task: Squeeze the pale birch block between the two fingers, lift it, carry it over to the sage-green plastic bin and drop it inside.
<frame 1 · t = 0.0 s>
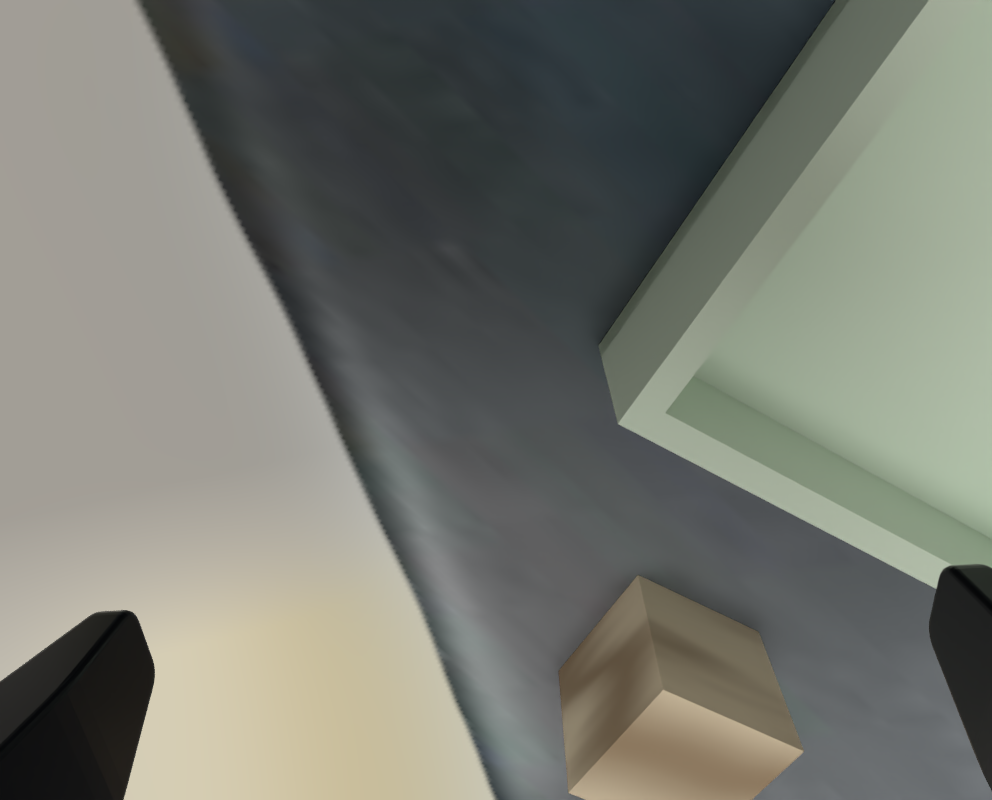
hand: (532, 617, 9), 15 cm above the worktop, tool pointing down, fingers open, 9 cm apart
birch block: (656, 649, 30), on the worktop
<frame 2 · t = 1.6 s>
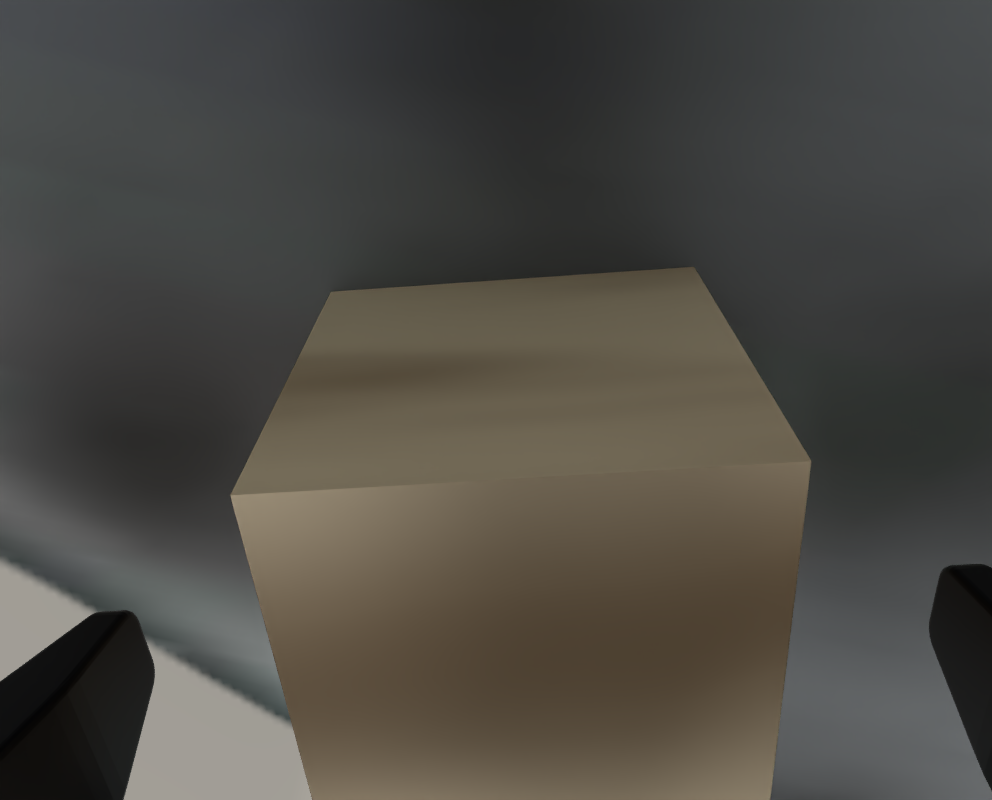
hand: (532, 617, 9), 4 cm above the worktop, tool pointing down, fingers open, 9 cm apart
birch block: (521, 433, 13), on the worktop
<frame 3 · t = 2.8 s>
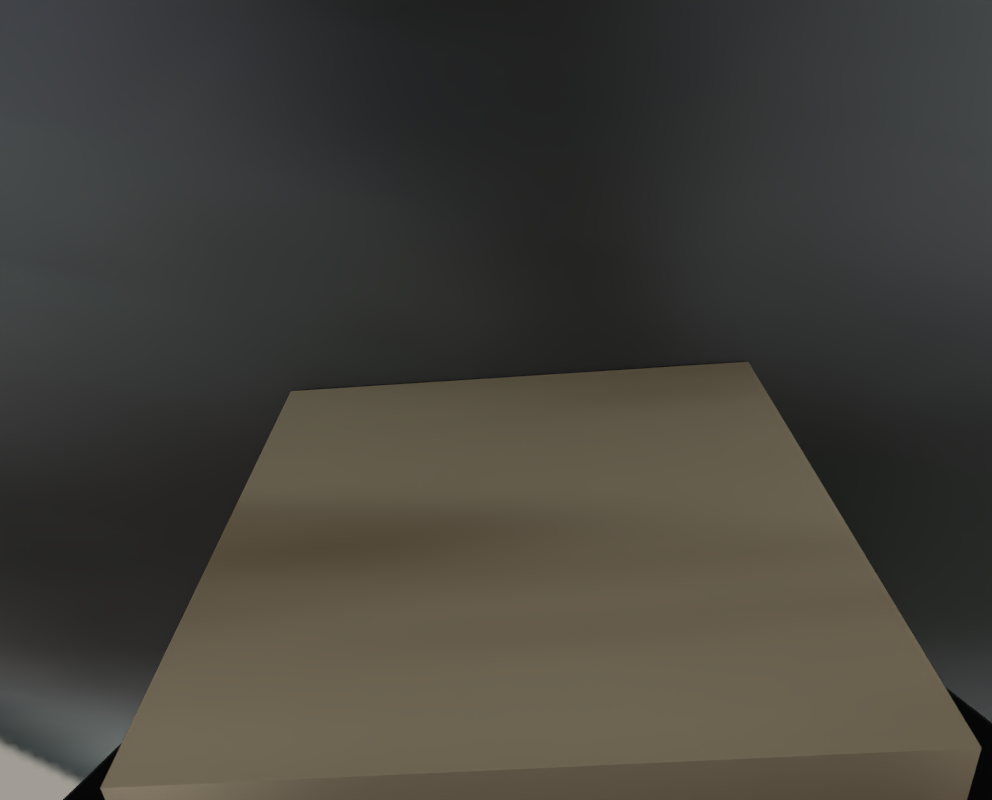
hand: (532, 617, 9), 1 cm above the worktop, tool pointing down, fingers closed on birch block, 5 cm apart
birch block: (529, 558, 10), on the worktop, touching gripper
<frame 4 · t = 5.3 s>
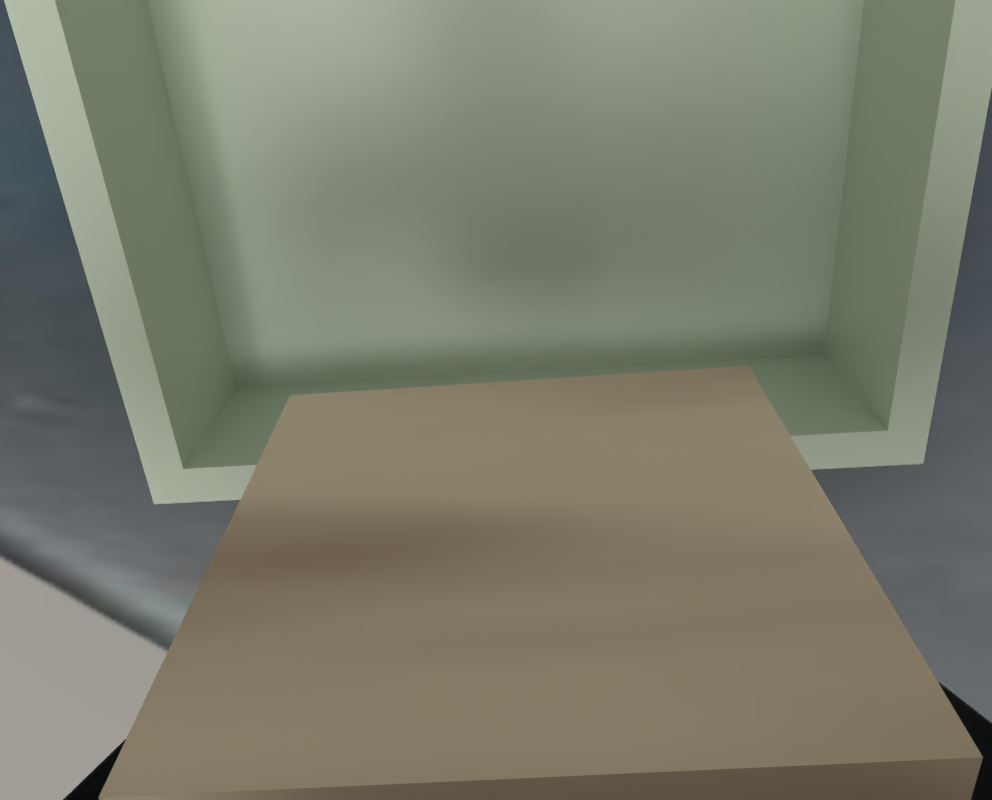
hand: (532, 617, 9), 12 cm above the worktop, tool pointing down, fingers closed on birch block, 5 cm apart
birch block: (529, 562, 10), point 11 cm above the worktop, touching gripper
sage bin: (507, 53, 18), on the worktop
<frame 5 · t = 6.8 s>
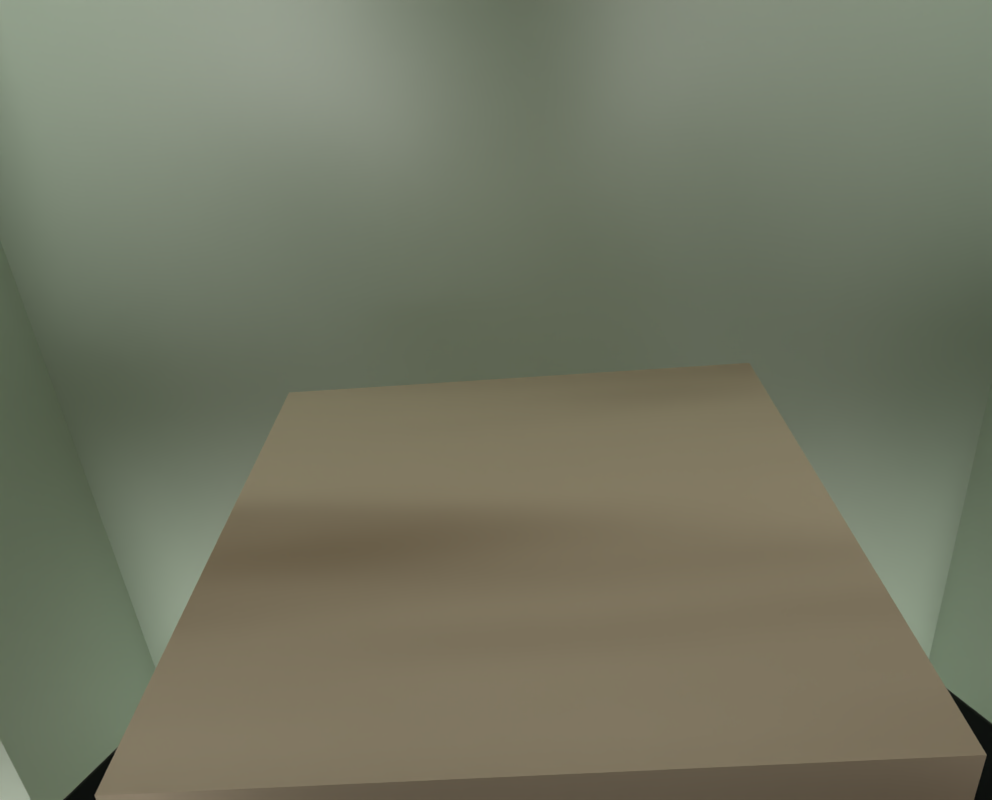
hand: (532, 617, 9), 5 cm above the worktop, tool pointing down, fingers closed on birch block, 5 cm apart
birch block: (529, 560, 10), point 4 cm above the worktop, touching gripper
sage bin: (522, 405, 14), on the worktop
when the fingers open (4 cm above the worktop, at t = 7.8 s): birch block drops 2 cm, resting on sage bin.
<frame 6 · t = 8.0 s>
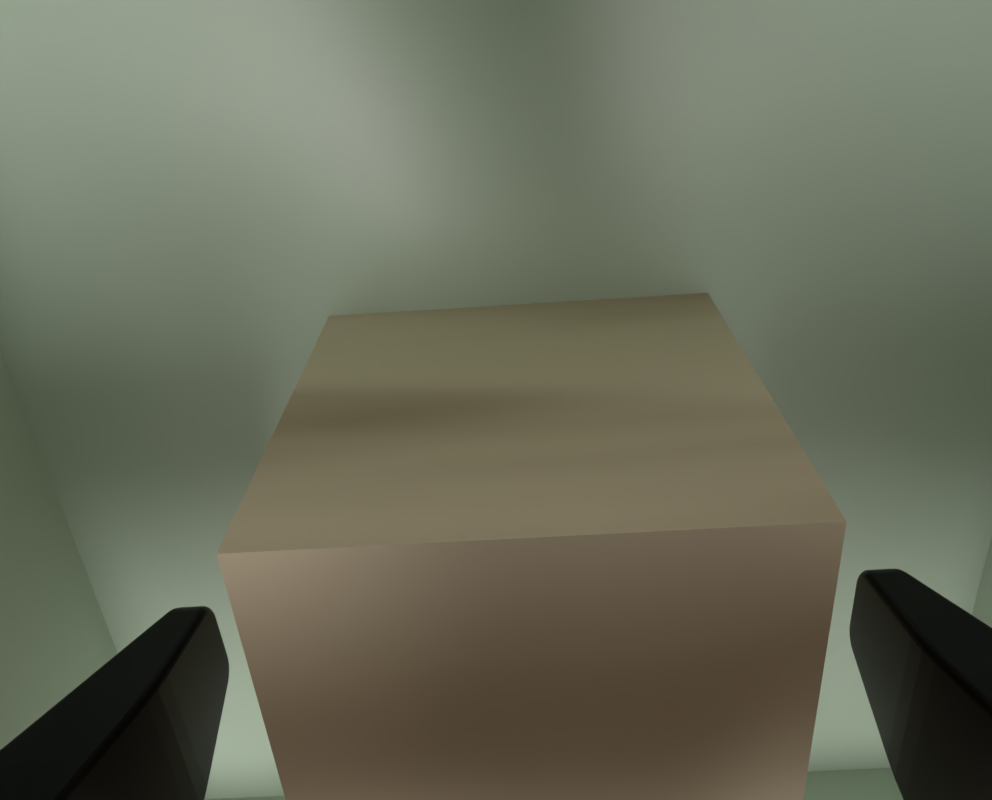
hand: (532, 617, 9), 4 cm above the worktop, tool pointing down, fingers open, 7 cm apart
birch block: (526, 464, 12), point 1 cm above the worktop, touching sage bin
sage bin: (523, 434, 13), on the worktop
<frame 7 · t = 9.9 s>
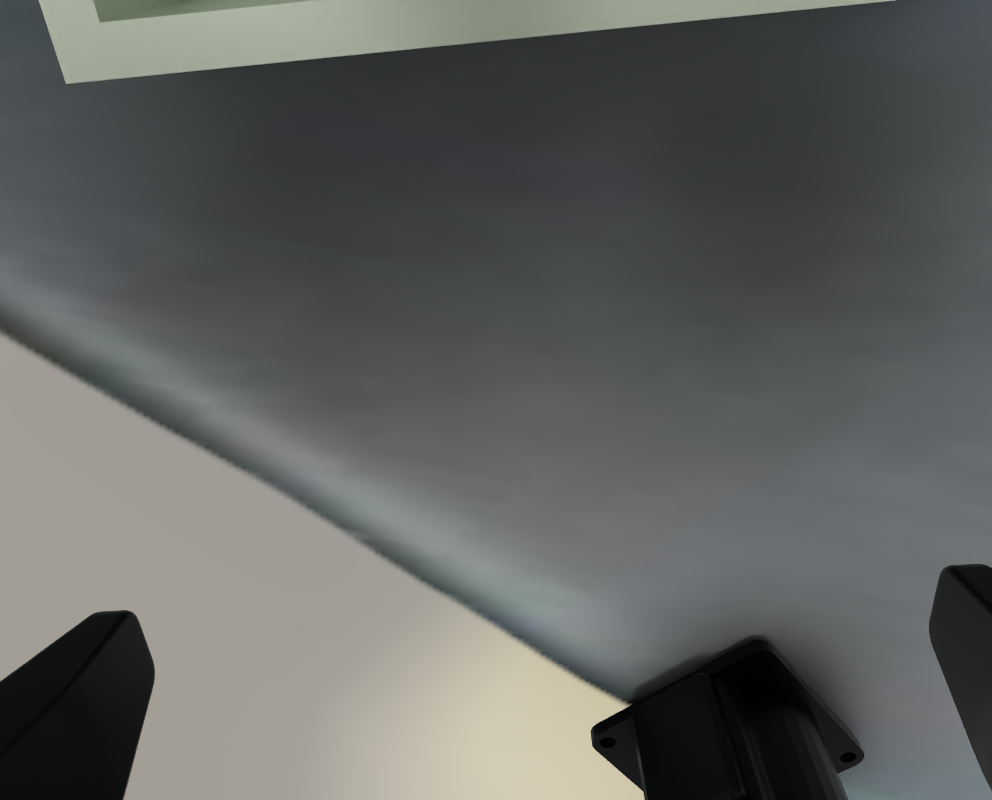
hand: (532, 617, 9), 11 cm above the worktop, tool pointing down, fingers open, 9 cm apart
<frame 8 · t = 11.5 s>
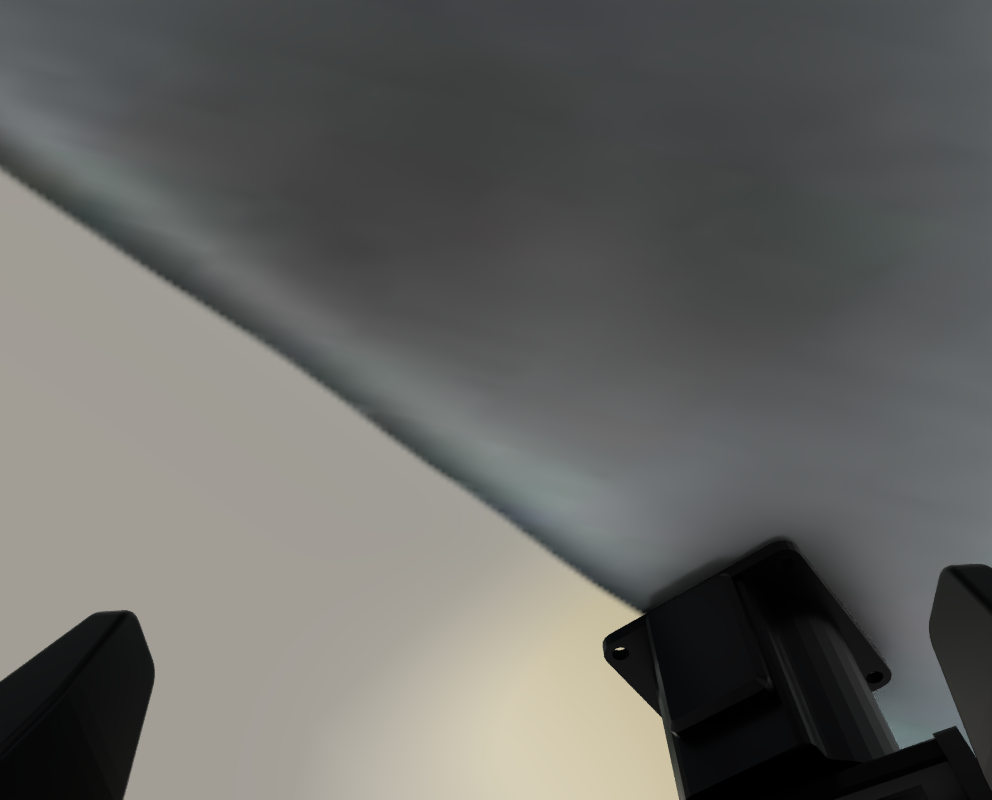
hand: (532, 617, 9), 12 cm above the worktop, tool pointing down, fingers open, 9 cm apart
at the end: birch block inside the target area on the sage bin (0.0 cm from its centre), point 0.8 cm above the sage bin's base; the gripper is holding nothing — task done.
